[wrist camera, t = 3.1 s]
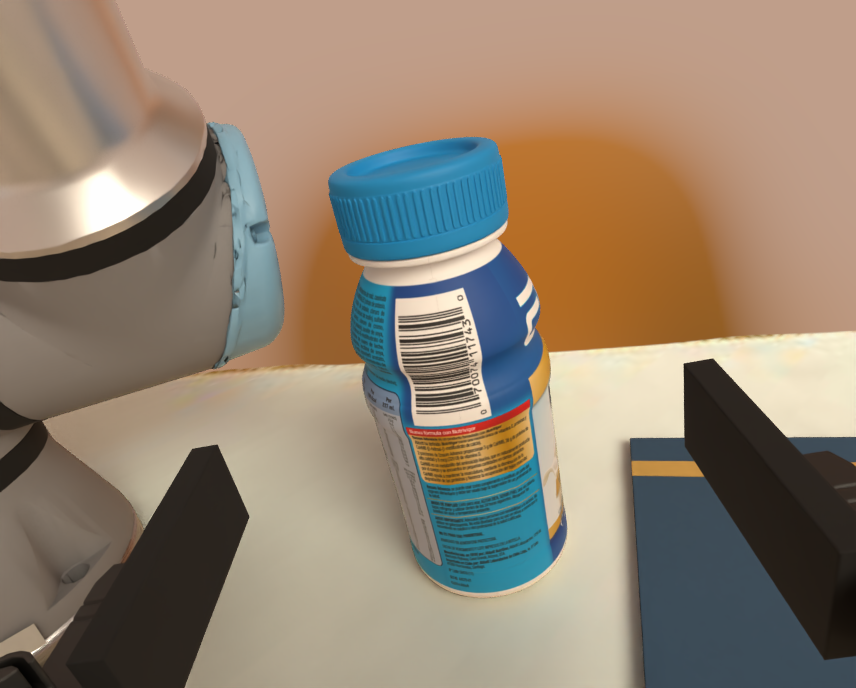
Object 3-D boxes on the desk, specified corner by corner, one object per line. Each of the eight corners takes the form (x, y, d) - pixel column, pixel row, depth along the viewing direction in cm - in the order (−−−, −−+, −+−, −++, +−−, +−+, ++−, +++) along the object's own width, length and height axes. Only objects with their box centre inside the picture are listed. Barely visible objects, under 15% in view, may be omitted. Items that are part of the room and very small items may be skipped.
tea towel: (630, 445, 36) (629, 436, 35) (932, 445, 31) (934, 435, 31) (654, 839, 19) (653, 828, 18) (1325, 970, 14) (1339, 958, 14)
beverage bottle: (380, 556, 32) (260, 188, 23) (479, 467, 37) (411, 135, 28) (504, 639, 26) (408, 190, 17) (602, 520, 31) (567, 122, 22)
